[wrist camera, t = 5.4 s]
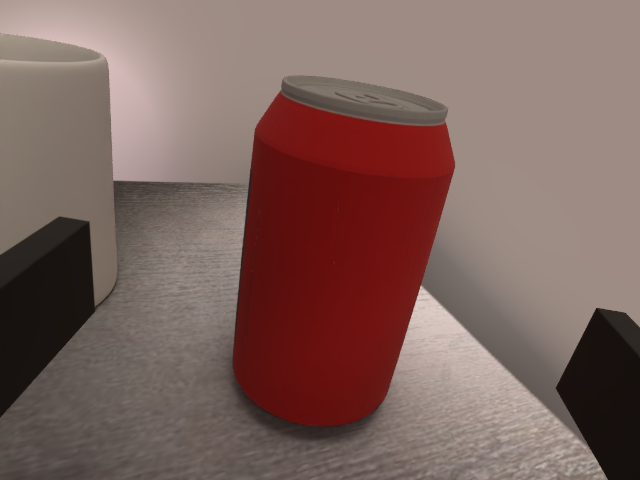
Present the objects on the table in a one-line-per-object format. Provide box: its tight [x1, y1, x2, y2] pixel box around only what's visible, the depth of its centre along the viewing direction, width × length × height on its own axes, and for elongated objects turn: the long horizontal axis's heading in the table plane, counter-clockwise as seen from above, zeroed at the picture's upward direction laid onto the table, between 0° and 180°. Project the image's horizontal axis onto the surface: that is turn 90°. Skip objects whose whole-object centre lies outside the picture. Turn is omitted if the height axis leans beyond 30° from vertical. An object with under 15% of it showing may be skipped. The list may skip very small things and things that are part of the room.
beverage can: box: [233, 76, 455, 426], centre depth 17 cm, size 7×7×12 cm
